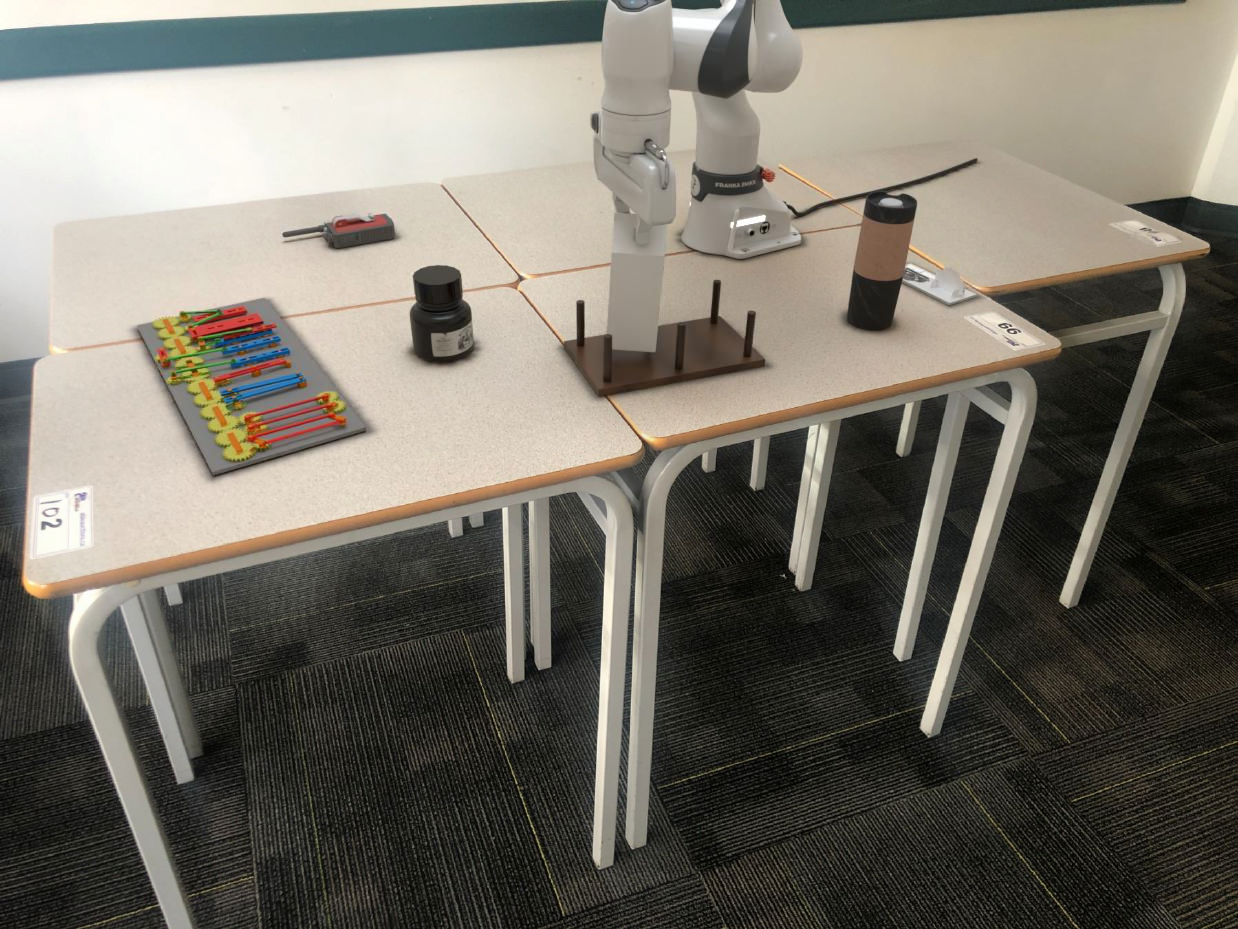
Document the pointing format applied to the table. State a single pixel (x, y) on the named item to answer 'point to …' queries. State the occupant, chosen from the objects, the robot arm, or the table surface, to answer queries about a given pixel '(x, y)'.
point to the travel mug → (880, 259)
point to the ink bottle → (440, 315)
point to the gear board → (246, 384)
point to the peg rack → (665, 353)
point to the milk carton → (635, 286)
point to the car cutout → (937, 284)
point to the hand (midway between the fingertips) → (632, 233)
